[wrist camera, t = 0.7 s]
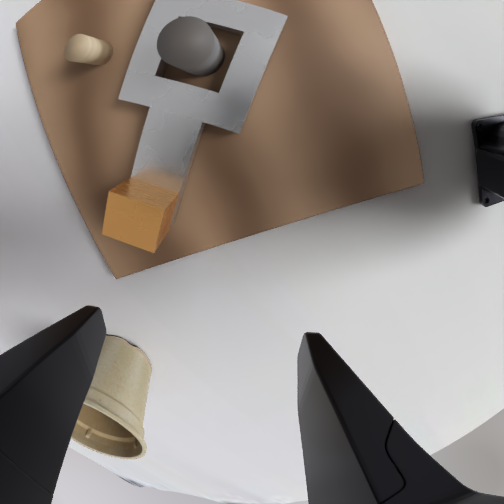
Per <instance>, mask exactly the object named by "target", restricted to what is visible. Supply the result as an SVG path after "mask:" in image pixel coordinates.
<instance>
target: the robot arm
mask: <svg viewBox="0 0 504 504" xmlns="http://www.w3.org/2000/svg"><path fill="white" fill-rule="evenodd" d="M478 124H479V129H478ZM472 130H473V136H474V143H475V151H476V159H477V169H478V181H479V198H480V203H481V204H482V205H483V206H485V207H488V206H491V205H494V204H496V203H499V202H502V201H504V115H501V116H494V117H488V118H482V119H476V120H474V121H473V123H472ZM485 199H486V201H485ZM105 337H106V327H105V323H104V319H103V315H102V311H101V309H100V308H99V307H95V306H85V307H83V308H81V309H80V310H78V311H76V312H74V313H72V314H71V315H69V316H67V317H65V318H63V319H62V320H60V321H58V322H56V323H55V324H53V325H51V326H49V327H48V328H46V329H44V330H42V331H41V332H39V333H37V334H35V335H34V336H32V337H30V338H28V339H27V340H25V341H23V342H22V343H20V344H18V345H16V346H15V347H13V348H11V349H10V350H8V351H6V352H4V353H3V354H1V355H0V504H51V502H52V498H53V494H54V490H55V487H56V483H57V479H58V476H59V473H60V469H61V467H62V463H63V460H64V457H65V454H66V451H67V448H68V445H69V442H70V439H71V436H72V433H73V430H74V428H75V425H76V422H77V419H78V417H79V414H80V411H81V409H82V406H83V403H84V401H85V398H86V396H87V393H88V391H89V388H90V386H91V383H92V380H93V377H94V374H95V371H96V367H97V364H98V360H99V357H100V354H101V350H102V347H103V344H104V341H105ZM297 364H298V416H299V424H300V432H301V441H302V449H303V457H304V466H305V474H306V483H307V492H308V502H309V504H504V497H502V496H496V495H489V494H484V493H479V492H477V491H473V490H472V489H470V488H468V487H466V486H464V485H463V484H462V483H461V482H459V481H458V480H457V479H456V478H455V477H454V476H452V475H451V474H450V473H449V472H448V471H447V470H446V469H444V468H443V467H442V466H441V465H440V464H439V463H438V462H437V461H435V460H434V459H433V458H432V457H431V456H430V455H429V454H428V453H427V452H426V451H425V450H424V449H423V448H421V447H420V446H419V445H418V444H417V443H416V442H415V441H414V440H413V438H412V437H411V436H410V435H409V434H408V433H407V432H406V431H405V430H404V429H403V428H402V426H401V425H400V424H399V423H398V422H397V421H396V420H393V419H394V418H393V416H392V415H391V414H390V413H389V412H388V411H387V409H386V408H385V407H384V406H383V405H382V404H381V403H380V401H379V400H378V399H377V398H376V397H375V396H374V395H373V393H372V392H371V391H370V390H369V389H368V388H367V387H366V385H365V384H364V383H363V382H362V381H361V380H360V379H359V377H358V376H357V375H356V374H355V373H354V372H353V371H352V369H351V368H350V367H349V366H348V365H347V364H346V362H345V361H344V360H343V359H342V358H341V357H340V356H339V354H338V353H337V352H336V351H335V350H334V349H333V348H332V346H331V345H330V344H329V343H328V342H327V341H326V340H325V338H324V337H323V336H322V335H321V334H320V333H314V332H306V333H304V335H303V338H302V342H301V346H300V349H299V353H298V361H297Z"/></svg>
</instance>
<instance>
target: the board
mask: <svg viewBox="0 0 504 504" xmlns="http://www.w3.org/2000/svg"><path fill="white" fill-rule="evenodd" d="M238 1H241V2H245V3H249V4H252V5H256V6H259V7H262V8H266V9H269V10H272V11H275V12H278V13H281V14H284V15H287V16H288V17H287V21H286V23H285V26H284V28H283V30H282V32H281V35H280V37H279V39H278V41H277V44H276V46H275V48H274V51H273V53H272V55H271V58H270V60H269V63H268V65H267V67H266V70H265V72H264V75H263V77H262V79H261V82H260V84H259V87H258V89H257V92H256V94H255V97H254V99H253V102H252V104H251V107H250V109H249V112H248V114H247V117H246V120H245V122H244V125H243V127H242V130H241V132H240V134H238V133H235V132H232V131H229V130H226V129H223V128H220V127H217V126H214V125H211V124H208V123H205V126H204V129H203V132H202V135H201V138H200V140H199V143H198V146H197V149H196V152H195V155H194V159H193V162H192V165H191V168H190V171H189V174H188V177H187V181H186V184H185V187H184V190H183V194H182V197H181V201H180V204H179V207H178V211H177V214H176V218H175V222H174V224H173V226H172V227H171V229H170V230H169V231H168V233H167V234H166V236H165V237H164V239H163V240H162V242H161V243H160V245H159V246H158V248H157V249H156V251H155V252H154V253H152V252H149V251H146V250H144V249H141V248H138V247H135V246H133V245H130V244H127V243H124V242H122V241H119V240H116V239H113V238H111V237H108V236H105V235H103V234H102V230H103V223H104V217H105V210H106V204H107V199H108V193H109V191H110V190H111V189H113V188H114V187H116V186H118V185H119V184H121V183H122V182H124V181H126V180H127V179H129V178H130V177H131V174H132V170H133V166H134V162H135V158H136V154H137V150H138V146H139V142H140V139H141V135H142V131H143V128H144V125H145V121H146V118H147V115H148V111H149V108H150V107H149V106H145V105H141V104H137V103H133V102H128V101H124V100H120V99H118V98H119V94H120V91H121V88H122V85H123V82H124V79H125V76H126V73H127V70H128V67H129V64H130V61H131V58H132V55H133V53H134V50H135V47H136V45H137V42H138V40H139V37H140V35H141V32H142V30H143V27H144V25H145V22H146V20H147V18H148V15H149V13H150V11H151V9H152V7H153V4H154V2H155V0H41V1H40V2H39V3H38V4H36V5H35V6H34V7H33V8H32V9H31V10H29V11H28V12H27V13H26V14H25V15H24V16H23V17H22V18H21V19H20V20H18V21H17V22H16V27H17V33H18V38H19V42H20V47H21V51H22V55H23V59H24V63H25V67H26V71H27V75H28V78H29V82H30V85H31V89H32V92H33V95H34V99H35V102H36V105H37V108H38V111H39V114H40V117H41V120H42V123H43V126H44V128H45V131H46V134H47V137H48V139H49V142H50V145H51V147H52V150H53V152H54V155H55V157H56V160H57V162H58V165H59V167H60V169H61V172H62V174H63V176H64V179H65V181H66V183H67V185H68V188H69V190H70V192H71V194H72V196H73V199H74V201H75V203H76V205H77V207H78V209H79V211H80V213H81V215H82V217H83V219H84V221H85V223H86V225H87V227H88V229H89V231H90V233H91V235H92V237H93V239H94V241H95V243H96V244H97V246H98V248H99V250H100V252H101V254H102V255H103V257H104V259H105V261H106V263H107V264H108V266H109V268H110V270H111V271H112V273H113V275H114V277H115V278H116V279H118V278H121V277H124V276H127V275H130V274H133V273H136V272H139V271H142V270H145V269H148V268H151V267H154V266H157V265H160V264H163V263H166V262H170V261H173V260H176V259H179V258H182V257H185V256H188V255H191V254H194V253H197V252H200V251H203V250H207V249H210V248H213V247H216V246H219V245H222V244H225V243H228V242H232V241H235V240H238V239H241V238H244V237H247V236H251V235H254V234H257V233H260V232H263V231H267V230H270V229H273V228H276V227H279V226H283V225H286V224H289V223H292V222H296V221H299V220H302V219H305V218H309V217H312V216H315V215H318V214H322V213H325V212H328V211H332V210H335V209H338V208H342V207H345V206H348V205H352V204H355V203H358V202H362V201H365V200H368V199H372V198H375V197H379V196H382V195H385V194H389V193H392V192H396V191H399V190H402V189H406V188H409V187H413V186H416V185H420V184H423V183H424V177H423V171H422V165H421V159H420V153H419V148H418V143H417V138H416V133H415V129H414V124H413V120H412V116H411V112H410V108H409V104H408V100H407V97H406V93H405V89H404V86H403V83H402V79H401V76H400V73H399V70H398V66H397V63H396V60H395V57H394V54H393V52H392V49H391V46H390V43H389V41H388V38H387V35H386V33H385V30H384V28H383V25H382V23H381V20H380V18H379V15H378V13H377V11H376V8H375V6H374V4H373V2H372V0H238ZM241 38H242V36H241V35H237V34H234V33H230V32H226V31H223V30H219V29H215V28H211V27H209V25H208V24H207V23H206V22H205V21H203V20H202V19H200V18H197V17H192V16H185V17H180V18H177V19H174V20H172V21H171V22H169V23H168V24H167V25H166V26H165V27H164V28H163V29H162V30H161V32H160V34H159V36H158V39H157V51H158V53H159V55H160V57H161V58H162V59H163V60H164V61H165V62H166V63H167V65H166V67H165V70H164V73H163V76H162V78H166V79H170V80H174V81H178V82H182V83H186V84H189V85H193V86H197V87H200V88H204V89H207V90H210V91H214V92H217V93H219V92H220V89H221V87H222V84H223V81H224V79H225V76H226V74H227V71H228V69H229V66H230V64H231V61H232V59H233V57H234V54H235V52H236V49H237V47H238V45H239V42H240V40H241Z"/></svg>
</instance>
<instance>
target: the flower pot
mask: <svg viewBox="0 0 504 504" xmlns="http://www.w3.org/2000/svg"><path fill="white" fill-rule="evenodd" d="M151 372H152V368H151V364H150V361H149V359H148V358H147V356H146V355H145V354H144V353H143V351H142V350H141V349H139V348H138V347H134V346H132V345H130V344H129V343H128V342H127V341H125V339H123V338H120V337H115V336H106V337H105V341H104V344H103V347H102V350H101V354H100V357H99V360H98V364H97V367H96V371H95V374H94V377H93V380H92V383H91V386H90V388H89V391H88V393H87V396H86V398H85V401H84V403H83V406H82V409H81V411H80V414H79V417H78V419H77V422H76V425H75V428H74V430H73V433H72V436H71V439H73V440H74V441H76V442H77V443H79V444H81V445H83V446H85V447H87V448H89V449H91V450H93V451H96V452H98V453H101V454H105V455H107V456H111V457H116V458H121V459H137V458H141V457H143V456H144V455H145V453H146V450H147V447H146V443H145V441H144V428H143V420H144V413H145V407H146V400H147V394H148V388H149V382H150V376H151Z"/></svg>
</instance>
